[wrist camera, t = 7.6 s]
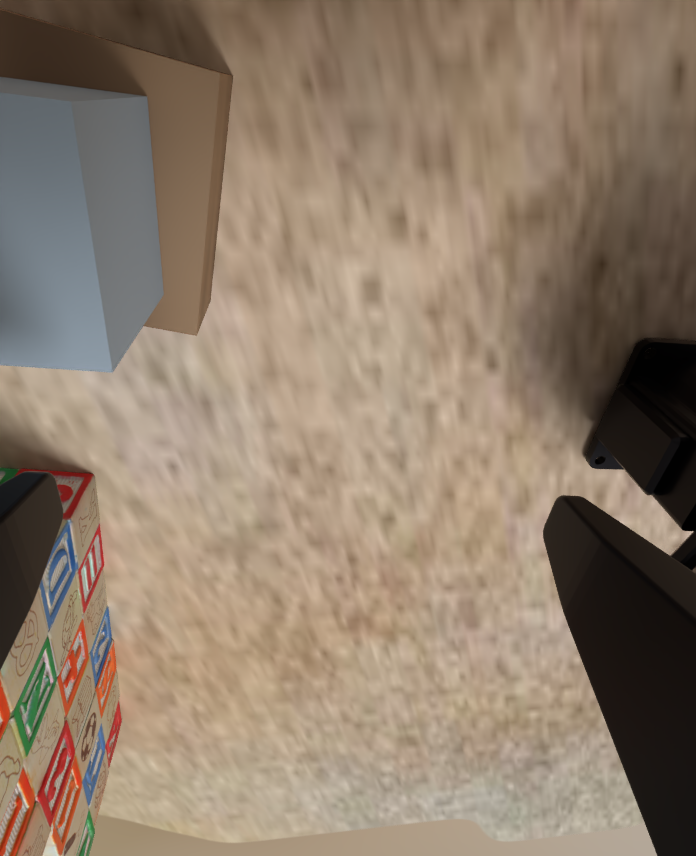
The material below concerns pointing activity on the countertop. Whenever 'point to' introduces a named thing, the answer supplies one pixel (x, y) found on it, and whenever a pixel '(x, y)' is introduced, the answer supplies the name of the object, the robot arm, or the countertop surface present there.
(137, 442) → the countertop surface
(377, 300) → the countertop surface
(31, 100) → the slate cube
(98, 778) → the stack of blocks
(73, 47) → the walnut slab
